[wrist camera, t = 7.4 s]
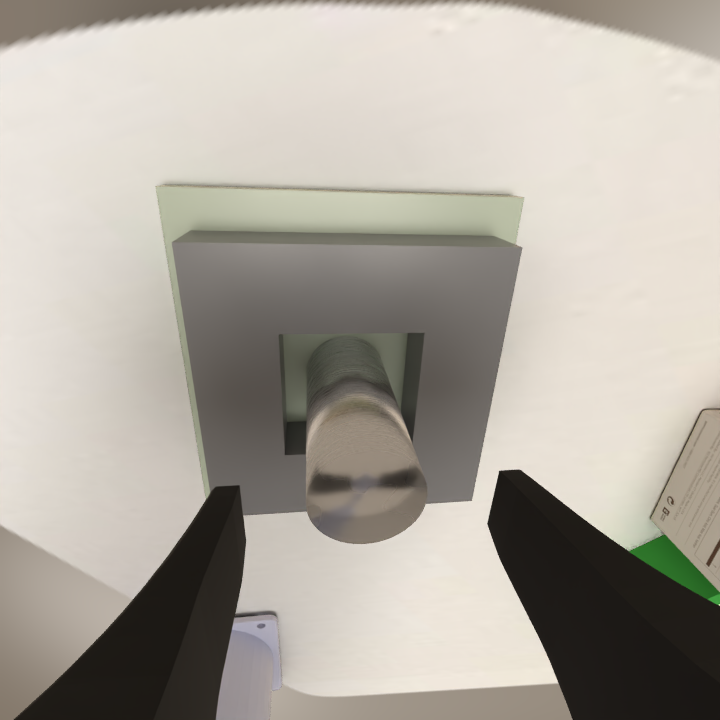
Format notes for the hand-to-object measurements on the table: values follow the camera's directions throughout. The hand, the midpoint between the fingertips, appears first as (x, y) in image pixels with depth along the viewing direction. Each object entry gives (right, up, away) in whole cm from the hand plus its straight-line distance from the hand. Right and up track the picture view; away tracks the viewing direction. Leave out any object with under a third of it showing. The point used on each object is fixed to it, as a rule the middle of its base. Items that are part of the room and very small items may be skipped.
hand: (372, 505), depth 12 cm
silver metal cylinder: (-1, +4, +7) cm, 8 cm away
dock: (-1, +4, +8) cm, 9 cm away
